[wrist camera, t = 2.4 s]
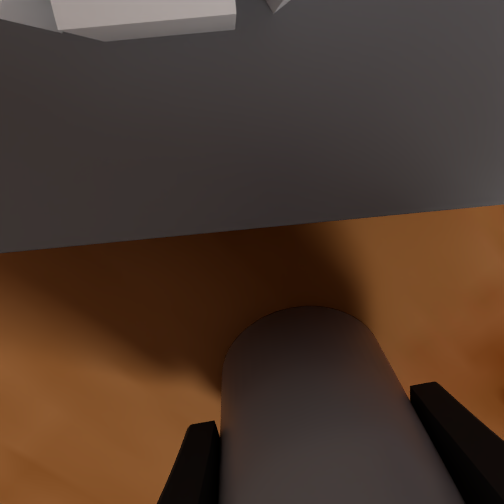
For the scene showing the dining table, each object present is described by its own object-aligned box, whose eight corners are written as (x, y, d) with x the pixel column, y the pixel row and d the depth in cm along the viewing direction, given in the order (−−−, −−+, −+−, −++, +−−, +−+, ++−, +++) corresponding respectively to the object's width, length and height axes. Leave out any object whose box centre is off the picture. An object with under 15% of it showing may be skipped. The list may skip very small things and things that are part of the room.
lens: (387, 297, 11) (624, 640, 4) (377, 423, 13) (527, 781, 6) (212, 315, 10) (182, 688, 4) (231, 438, 13) (231, 813, 6)
